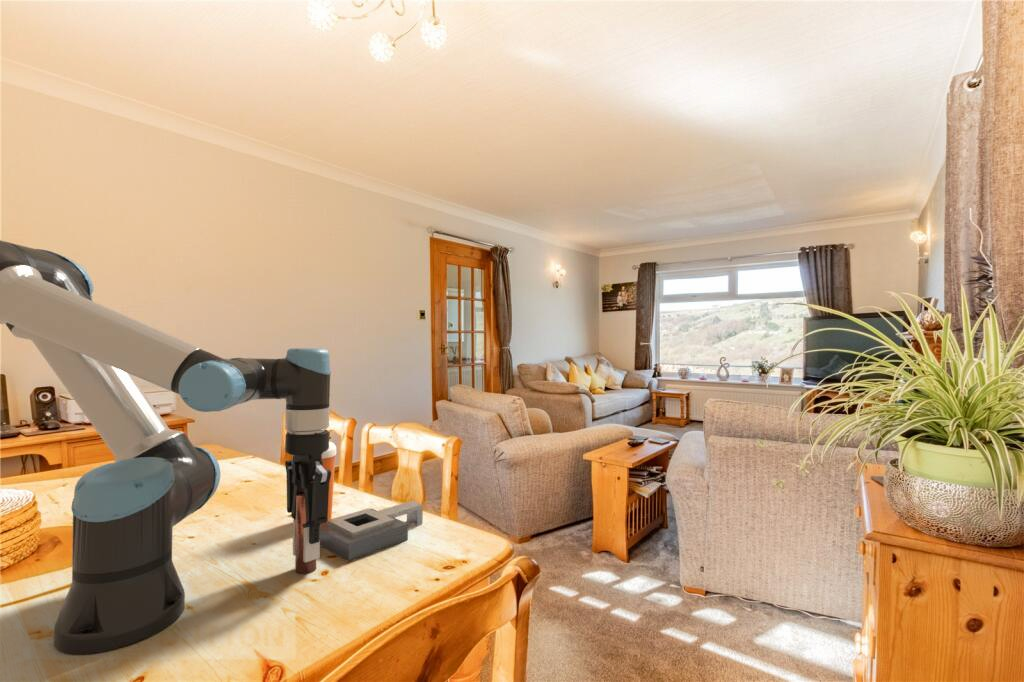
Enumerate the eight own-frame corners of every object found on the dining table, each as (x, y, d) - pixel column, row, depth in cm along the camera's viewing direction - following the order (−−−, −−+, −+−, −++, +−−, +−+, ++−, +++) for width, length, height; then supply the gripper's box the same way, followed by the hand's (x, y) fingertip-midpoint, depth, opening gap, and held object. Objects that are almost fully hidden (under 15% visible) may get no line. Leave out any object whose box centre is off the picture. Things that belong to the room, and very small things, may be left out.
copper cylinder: (300, 576, 86) (301, 499, 86) (291, 570, 88) (292, 494, 88) (319, 569, 89) (320, 494, 89) (310, 563, 91) (311, 490, 91)
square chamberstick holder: (348, 561, 92) (348, 543, 92) (313, 541, 101) (313, 525, 101) (407, 539, 102) (407, 523, 102) (371, 523, 111) (371, 508, 111)
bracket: (352, 555, 94) (352, 532, 95) (327, 541, 101) (327, 520, 101) (430, 526, 110) (430, 507, 110) (404, 516, 116) (404, 497, 116)
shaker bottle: (321, 529, 107) (322, 441, 107) (286, 526, 109) (287, 439, 109) (342, 515, 116) (344, 434, 116) (310, 512, 118) (311, 432, 118)
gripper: (349, 433, 86) (347, 562, 86) (306, 422, 97) (304, 537, 97) (309, 439, 80) (307, 578, 80) (268, 427, 91) (266, 549, 91)
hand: (306, 555), depth 88 cm, fingers closed on copper cylinder, 3 cm apart
